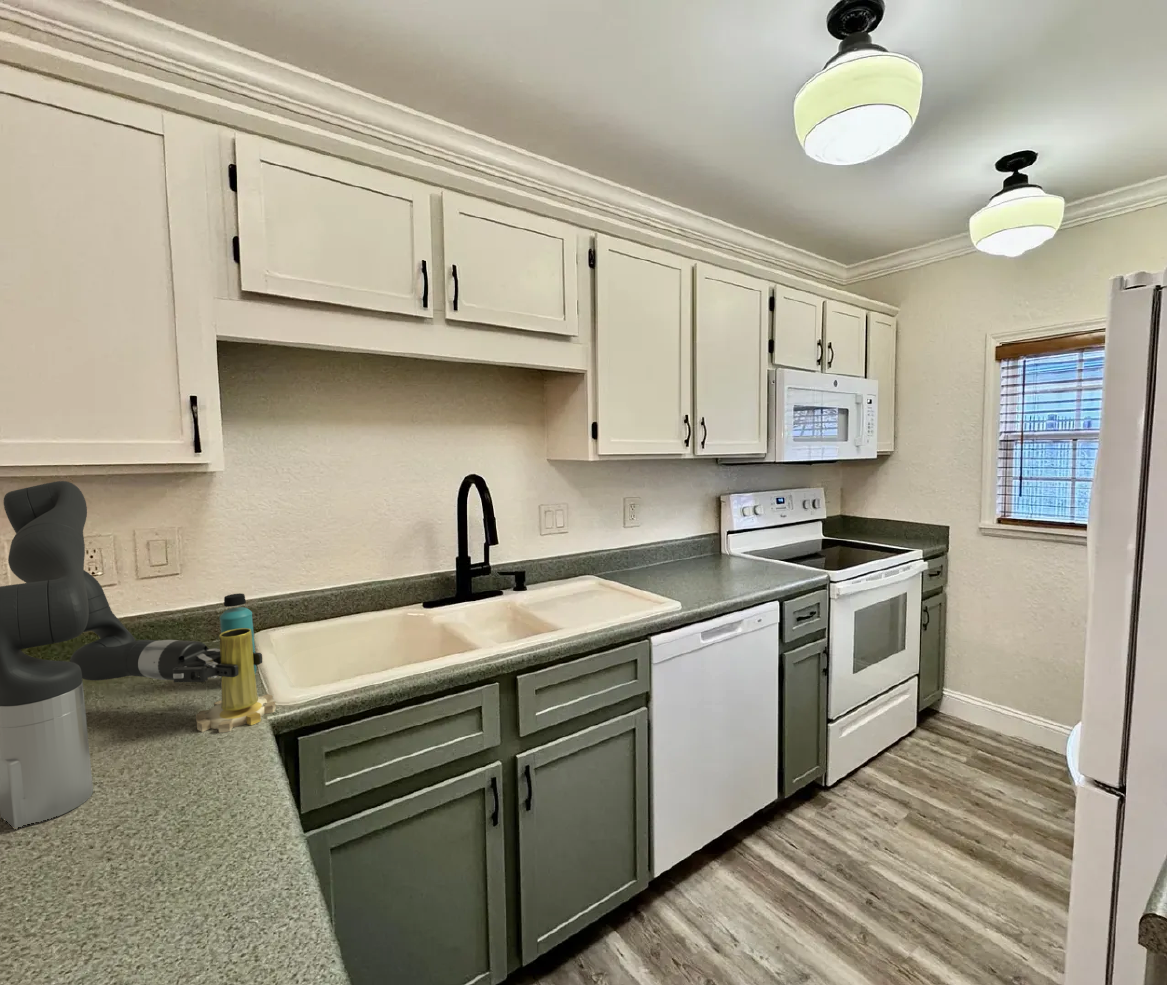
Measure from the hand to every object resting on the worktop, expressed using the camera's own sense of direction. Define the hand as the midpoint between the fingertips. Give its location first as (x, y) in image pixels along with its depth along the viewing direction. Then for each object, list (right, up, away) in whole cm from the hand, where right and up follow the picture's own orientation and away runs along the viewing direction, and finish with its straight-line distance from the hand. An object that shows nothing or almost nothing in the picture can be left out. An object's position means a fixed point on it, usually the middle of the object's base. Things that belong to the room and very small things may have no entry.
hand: (248, 664), depth 106 cm
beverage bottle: (-13, -10, +18) cm, 25 cm away
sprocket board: (-4, -11, +2) cm, 11 cm away
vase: (-2, -8, +1) cm, 9 cm away
